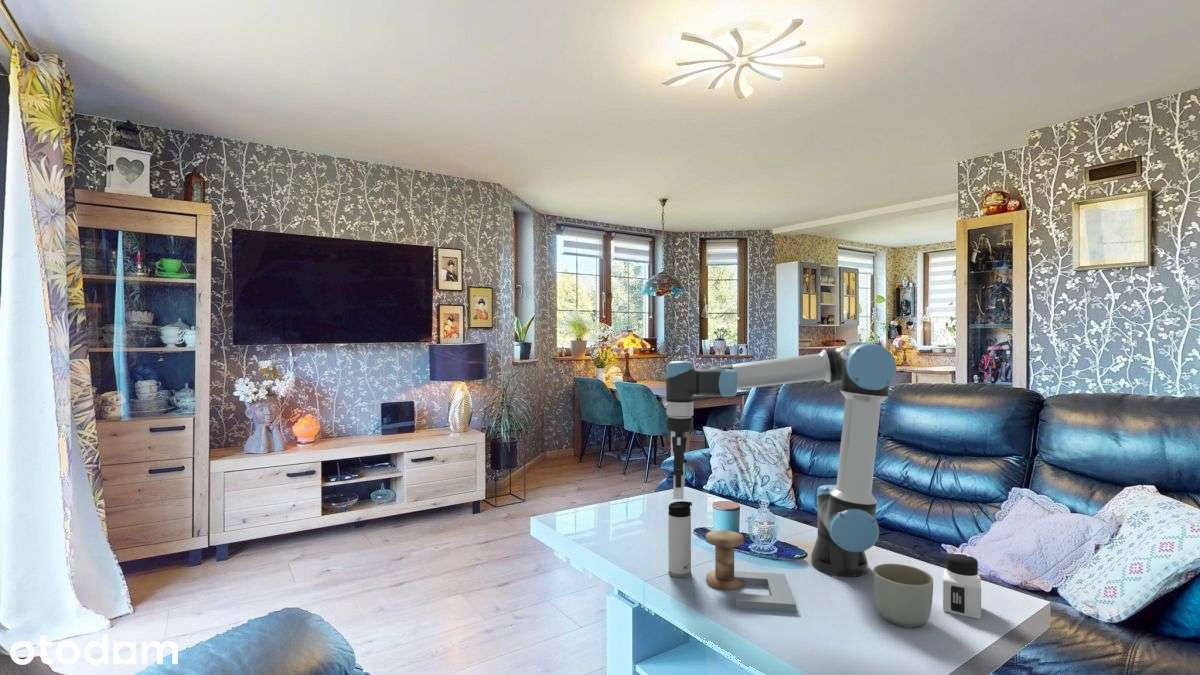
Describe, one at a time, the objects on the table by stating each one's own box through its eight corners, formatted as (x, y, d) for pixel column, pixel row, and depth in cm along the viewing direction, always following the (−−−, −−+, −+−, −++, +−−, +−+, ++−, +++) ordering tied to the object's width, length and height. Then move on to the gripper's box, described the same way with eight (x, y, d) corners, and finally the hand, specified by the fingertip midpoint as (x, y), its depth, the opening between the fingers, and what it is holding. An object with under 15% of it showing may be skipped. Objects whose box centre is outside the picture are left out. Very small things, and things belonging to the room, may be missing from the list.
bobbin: (742, 575, 162) (742, 531, 162) (745, 591, 152) (745, 543, 152) (705, 573, 163) (705, 529, 163) (706, 588, 153) (706, 541, 153)
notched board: (784, 581, 158) (784, 573, 158) (795, 612, 140) (795, 604, 140) (731, 578, 160) (731, 570, 160) (736, 608, 142) (736, 600, 142)
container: (981, 620, 136) (981, 564, 136) (942, 611, 140) (942, 557, 140) (980, 606, 143) (980, 553, 143) (943, 599, 147) (943, 547, 147)
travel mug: (691, 579, 160) (691, 506, 160) (667, 577, 161) (667, 504, 161) (692, 569, 166) (692, 499, 166) (669, 568, 167) (669, 498, 167)
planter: (907, 638, 128) (907, 589, 128) (861, 613, 139) (861, 568, 139) (945, 627, 133) (945, 579, 133) (898, 604, 144) (898, 560, 144)
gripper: (668, 410, 176) (667, 480, 176) (663, 422, 152) (663, 504, 152) (693, 410, 175) (692, 481, 175) (692, 423, 150) (692, 505, 150)
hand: (679, 492), depth 163 cm, fingers open, 13 cm apart
